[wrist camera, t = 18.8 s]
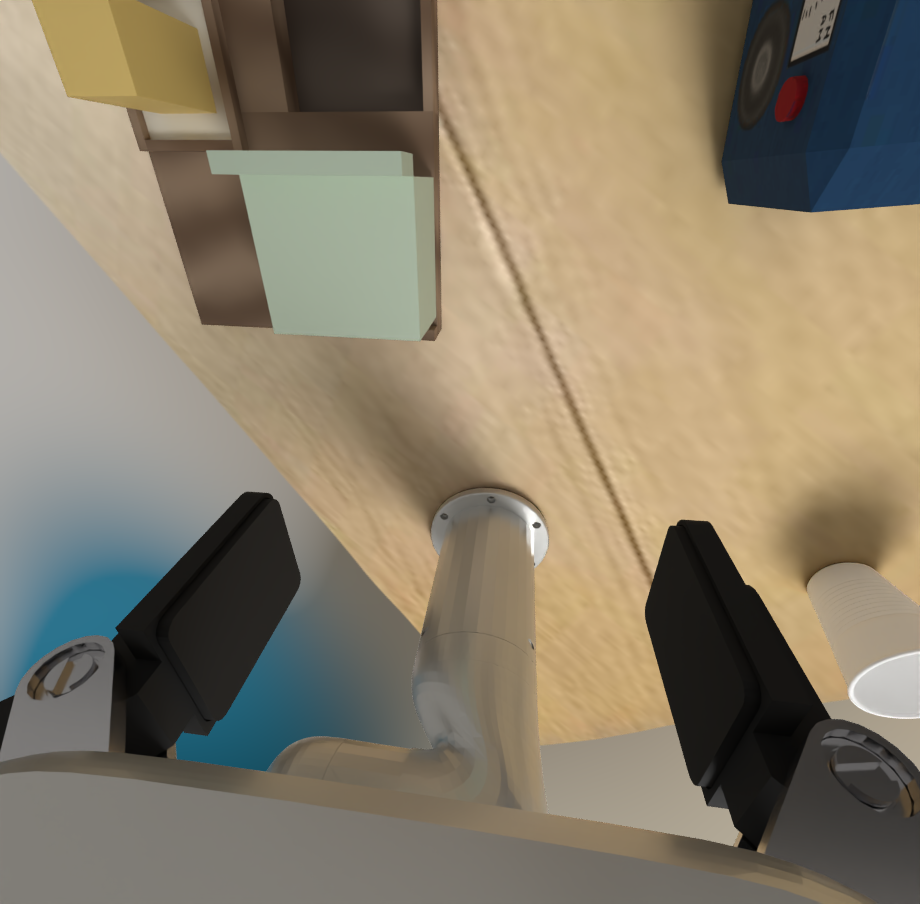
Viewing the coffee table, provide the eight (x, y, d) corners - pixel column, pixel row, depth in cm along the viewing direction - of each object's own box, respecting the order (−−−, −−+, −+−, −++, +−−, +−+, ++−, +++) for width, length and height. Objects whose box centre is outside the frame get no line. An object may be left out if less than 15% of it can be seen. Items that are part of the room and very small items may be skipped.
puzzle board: (441, 328, 36) (434, 340, 33) (216, 318, 38) (192, 328, 35) (434, -184, 22) (421, -236, 19) (79, -156, 24) (22, -199, 21)
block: (216, 113, 28) (137, 95, 22) (160, 113, 28) (67, 96, 23) (197, 28, 26) (103, -15, 20) (136, 30, 26) (27, -12, 20)
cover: (436, 317, 33) (411, 354, 26) (311, 311, 34) (254, 345, 27) (432, 158, 28) (401, 151, 21) (284, 158, 29) (205, 150, 22)
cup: (862, 529, 41) (961, 632, 31) (919, 581, 43) (1027, 691, 34) (763, 580, 45) (823, 682, 36) (819, 625, 48) (889, 731, 39)
